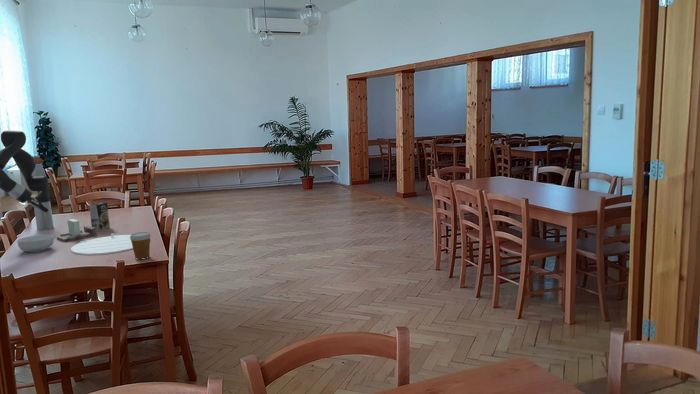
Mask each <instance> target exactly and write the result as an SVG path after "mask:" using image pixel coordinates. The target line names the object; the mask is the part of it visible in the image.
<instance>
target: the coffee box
mask: <svg viewBox="0 0 700 394" xmlns="http://www.w3.org/2000/svg"><path fill="white" fill-rule="evenodd" d="M88 207H89V213H90V214H89V215H90V223H91V224H90V225H91V227H94V228H96V232H101V231H105V230H108V229H110V228H111V227H110V226H111V225H110V224H111V223H110V217H109V209H108V208H109V207H108V202H96V203H93V204H89V205H88Z"/></svg>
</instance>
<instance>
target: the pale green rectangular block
mask: <svg viewBox="0 0 700 394" xmlns="http://www.w3.org/2000/svg"><path fill="white" fill-rule="evenodd" d="M66 222H67V229H68V233H69V234H70V235H73V236H74V235H79V234H81V233H80V231H81V227H80V220H78V219H74V218H70V219H67V221H66Z"/></svg>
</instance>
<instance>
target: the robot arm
mask: <svg viewBox="0 0 700 394" xmlns="http://www.w3.org/2000/svg"><path fill="white" fill-rule="evenodd" d="M0 140H1V143H2V146H3V147H4V148H2V149H0V190H2V191H3V192H5V193H7V194H8V195H9V196H10V197H12V198H13V199H14V200H17V201H18V202H20V203H21V204H24V203H27V204H29V205H31V206H32V207H33V209H34V216H35V224H36V229H37V231H46V230H50V229H53V228H54V226H55V225H54V220H53V213H52V206H51V205H52V204H51V198H50V197H51V196H50V195H51V194H50V184H49V179H48V177H47V176H46V175H37V176H33V175H32V174H33V173H34V171H35V170H36V162H35V160H34V158H33V156H32V155H31V153H29V152H28V151H27V150H25V149H23V147H24V146H25V145H26V142H27V135H26V134H25V132H23V131H20V130H3V131H2V132H1V134H0ZM11 159H12V160H13V161H14V162H15V164H16V167H17V169H18V170H19V171H20V172H21V174H22V175H23V176H22V177H23V178H24V180H25V183H26V185H27V187H25V186H23V185H22V184H20V183H19V182H17V181H15V180H14V179H13V178H11V177H10V176H9V175H8V174H7V173H6V172H5V170H4V168H5V167H6V166H7V164H9V162H10V160H11ZM33 192H41V194H39V195H37V196H35V197H33V196H32V194H33Z"/></svg>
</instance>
